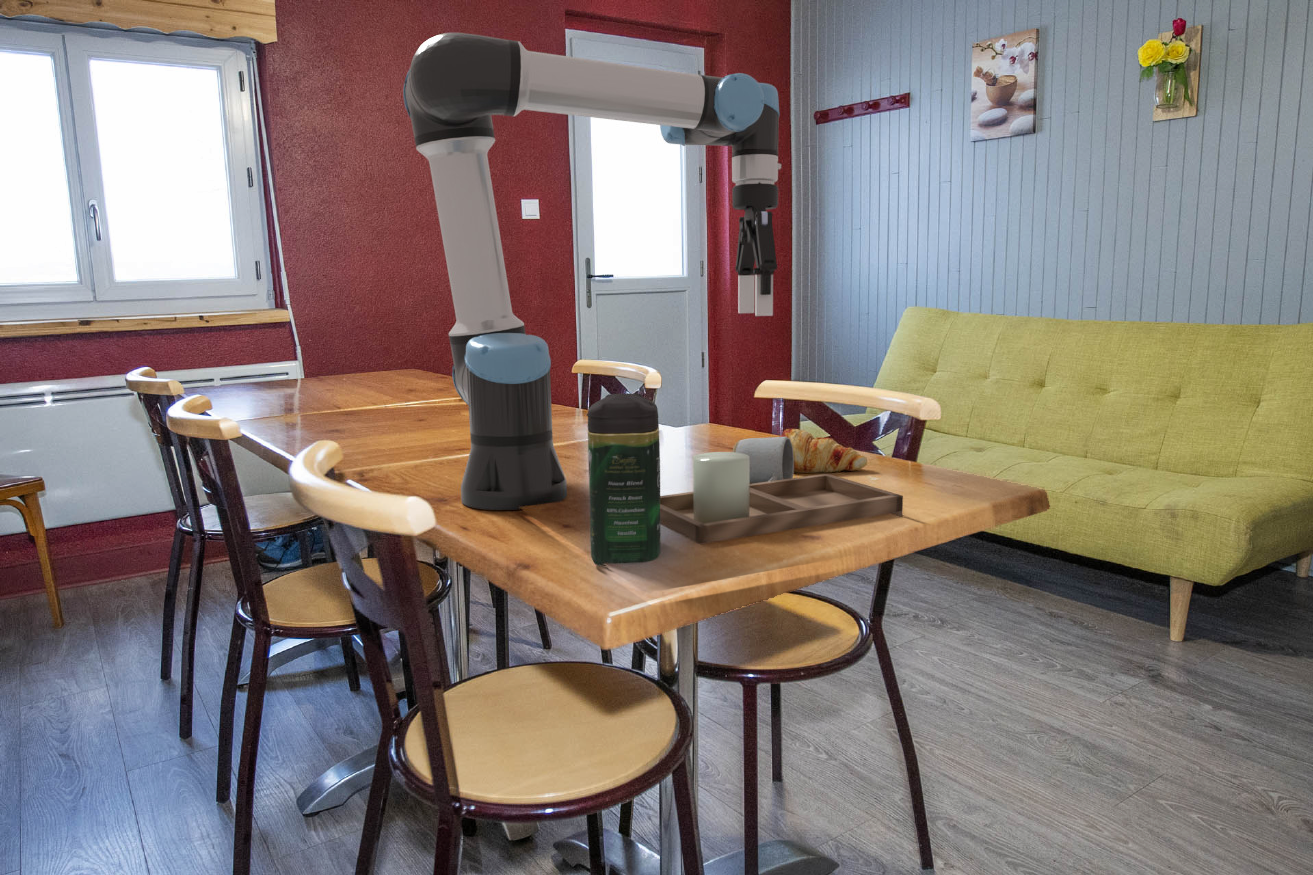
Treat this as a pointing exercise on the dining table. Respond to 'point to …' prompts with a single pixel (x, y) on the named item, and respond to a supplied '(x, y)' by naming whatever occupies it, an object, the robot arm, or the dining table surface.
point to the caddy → (783, 508)
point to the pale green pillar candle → (721, 486)
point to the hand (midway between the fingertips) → (754, 314)
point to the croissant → (821, 454)
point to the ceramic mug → (767, 458)
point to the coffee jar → (624, 479)
